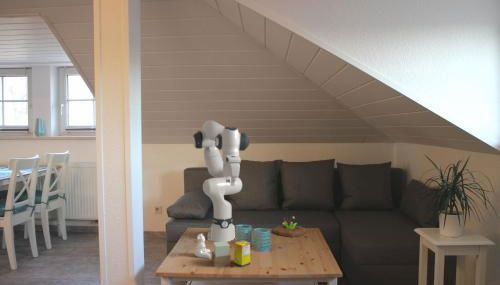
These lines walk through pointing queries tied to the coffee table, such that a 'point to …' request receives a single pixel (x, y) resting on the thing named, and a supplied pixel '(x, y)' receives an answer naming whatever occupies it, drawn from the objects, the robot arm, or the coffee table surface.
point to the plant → (289, 229)
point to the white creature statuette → (201, 248)
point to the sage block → (221, 249)
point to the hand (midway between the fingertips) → (230, 184)
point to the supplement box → (242, 253)
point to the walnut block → (221, 260)
